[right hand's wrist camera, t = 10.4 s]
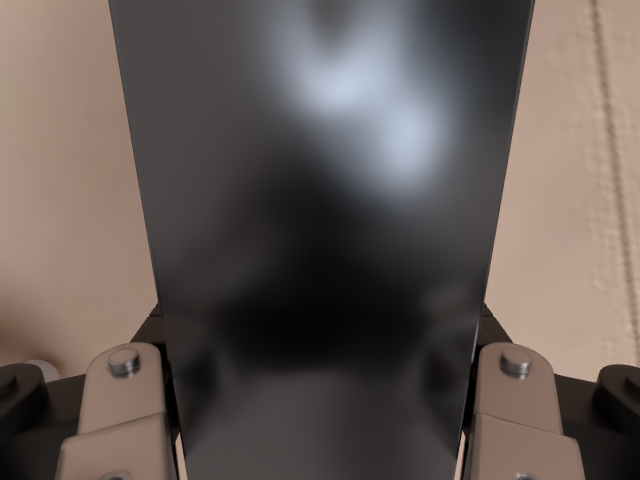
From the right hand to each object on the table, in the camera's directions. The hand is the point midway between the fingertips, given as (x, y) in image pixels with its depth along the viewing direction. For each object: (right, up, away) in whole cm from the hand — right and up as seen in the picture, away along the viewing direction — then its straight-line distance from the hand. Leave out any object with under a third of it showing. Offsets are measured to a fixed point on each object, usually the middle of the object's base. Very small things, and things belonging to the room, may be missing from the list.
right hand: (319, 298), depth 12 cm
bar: (0, +9, +1) cm, 9 cm away
